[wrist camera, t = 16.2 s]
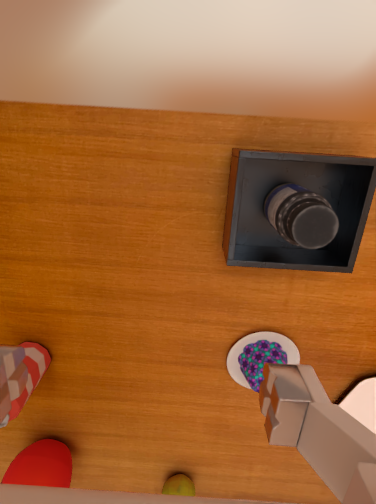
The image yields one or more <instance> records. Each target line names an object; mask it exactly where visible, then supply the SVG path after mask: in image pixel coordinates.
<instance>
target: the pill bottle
mask: <svg viewBox="0 0 376 504" xmlns="http://www.w3.org/2000/svg"><path fill="white" fill-rule="evenodd" d="M263 211H264V214H265V217H266V218H267V220H268V222H269V223H270V224H271V225H272V226H273V227H274V229H275V230H276V231H277V232H278V233H279V234H280V236H281V237H282V238H283V239H284V240H286V241H287V242H288V243H290V244H293V245H298V246H301V247H303V248H306V249H318V248H321V247H323V246H325V245H327V244H328V243H330V242H331V241H332V240H333V239H334V237H335V236H336V233H337V231H338V227H339V221H338V217H337V215H336V213H335V212H334V211H333V210H332V208H331V205H330V204H329V202H328V201H327V200H326V199H325V198H324V197H323V196H321V195H319V194H317V193H315V192H313V191H311V190H308V189H306V188H304V187H302V186H300V185H297V184H292V183H284V184H280V185H278V186H276V187H275V188H273V189H272V190H271V191H270V192H269V193H268V195H267V196H266V198H265V201H264V206H263Z"/></svg>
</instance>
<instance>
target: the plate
mask: <svg viewBox="0 0 376 504" xmlns="http://www.w3.org/2000/svg"><path fill="white" fill-rule="evenodd" d="M338 406H339V407H341V408H342V409H343V410H345V411H346V412H347V413H348V414H350V415H351V416H352V417H354V418H355V419H356V420H358V421H359V422H360V423H361V424H363V425H364V426H365V427H367V428H368V429H369V430H371V431H372V432H373V433H374V434H376V376H374V377H370V378H365V379H364V380H362V381H360V382H358V383H357V384H356V386H355V387H354V388H353V389H352V390H351V391H350V392H349V393H348V394H347V395H346V396H345V397H344V398H343V399H342V400H341V401H340V403H339V404H338Z"/></svg>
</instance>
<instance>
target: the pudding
mask: <svg viewBox="0 0 376 504" xmlns="http://www.w3.org/2000/svg"><path fill="white" fill-rule="evenodd" d="M299 362H300V355H299V351H298V349H297V347H296V345H295V344H294V343H293V342H292V341H291V340H290V339H289V338H287V337H285V336H283V335H281V334H278V333H274V332H257V333H253V334H250V335H247V336H245V337H243V338H242V339H240V340H239V341H238V342H237V343H236V344H234V346H233V347H232V348H231V350H230V352H229V354H228V357H227V369H228V372H229V374H230V375H231V377H232V378H233V379H234V380H235V381H236V382H237V383H238V384H240V385H242V386H244V387H246V388H249V389H253V390H254V391H256V392H258V393H259V388H260V383H261V382H262V381H263V380H264V376H263V373H262V372H263V367H264V364H265V363H277V364H293V365H295V364H299Z"/></svg>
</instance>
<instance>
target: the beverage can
mask: <svg viewBox="0 0 376 504" xmlns="http://www.w3.org/2000/svg"><path fill="white" fill-rule="evenodd" d="M18 346H22V347H24V349H25V354H26V356H25V358H24V359H23V360H22V361H23V362H24V364H25V365H26V366H27V367H28V380H27V383H26V386H25V389H24V391H23V392H22V394H21V395H20V396H19V397H18V398H16V399H15V400H13V401H11V405H12V408H11V410H10V411H9V413H8V414H7V416H6V417H5V419H4V420H3V422H2V423H1V424H0V428H1V427H4V426H6V425H7V423H8V422H9V421H11V420H13V419H14V418H16V417H17V416H18V414H19V413H20V411H21V409H22V408H23V406H24V405H25V403H26V402H27V400H28V399H29V397H30V395H31V394H32V392H33V391H34V389H35V388H36V386H37V384H38V383H39V381H40V380H41V378H42V377H43V375H44V373H45V372H46V370H47V369H48V367H49V364H50V362H51V358H50V355H49V353H48V351H47V350H46V349H45V348H43V347H42V346H41V345H39V344H38V343H31V342H24V343H22V344H20V345H18Z"/></svg>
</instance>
